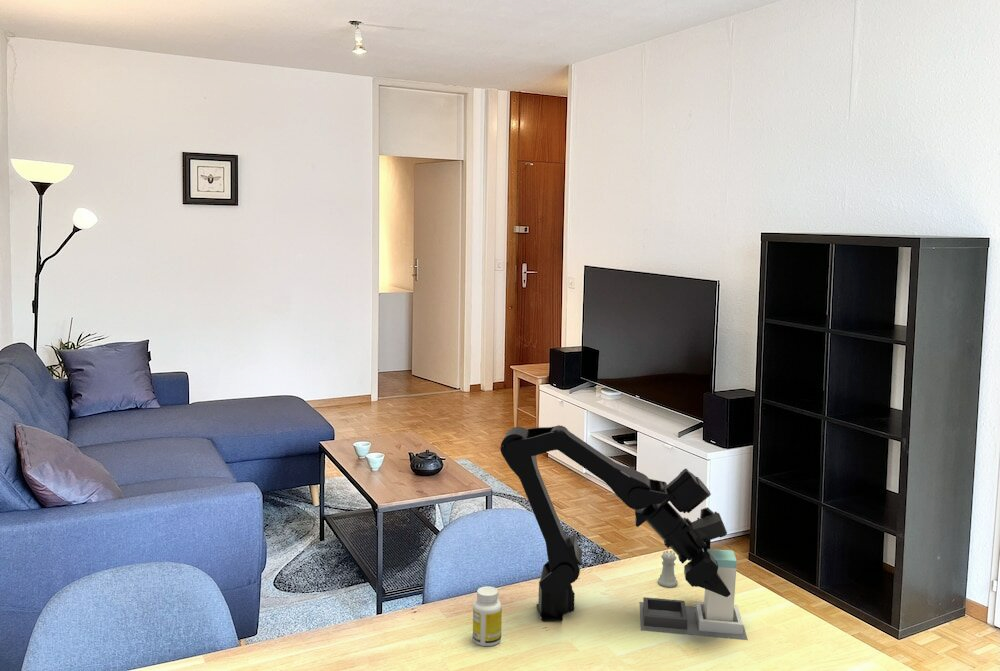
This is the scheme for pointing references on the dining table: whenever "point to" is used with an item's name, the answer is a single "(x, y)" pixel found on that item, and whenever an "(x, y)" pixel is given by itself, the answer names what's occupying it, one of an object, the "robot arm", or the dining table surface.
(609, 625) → the dining table surface
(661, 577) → the rook chess piece
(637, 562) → the dining table surface
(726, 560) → the plug
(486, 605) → the supplement bottle
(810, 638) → the dining table surface
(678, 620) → the board
